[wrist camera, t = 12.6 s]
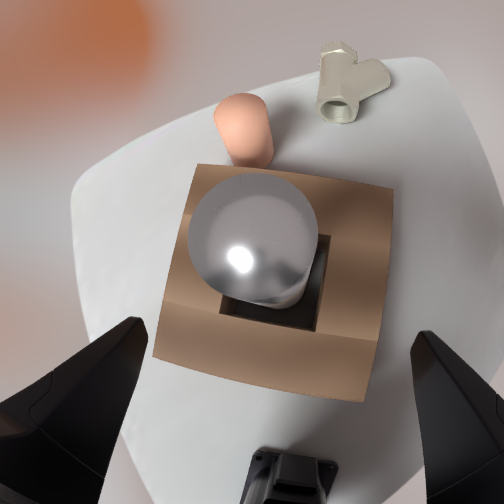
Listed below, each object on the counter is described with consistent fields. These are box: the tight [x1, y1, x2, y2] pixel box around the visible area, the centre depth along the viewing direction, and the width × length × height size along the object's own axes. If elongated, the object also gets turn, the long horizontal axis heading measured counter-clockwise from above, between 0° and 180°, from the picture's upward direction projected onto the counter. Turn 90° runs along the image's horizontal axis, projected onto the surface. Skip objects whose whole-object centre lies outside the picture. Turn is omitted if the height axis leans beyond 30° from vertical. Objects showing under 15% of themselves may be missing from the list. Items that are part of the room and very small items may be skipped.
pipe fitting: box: [315, 42, 391, 124], centre depth 21 cm, size 8×4×7 cm
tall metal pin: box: [188, 173, 318, 309], centre depth 14 cm, size 4×4×13 cm
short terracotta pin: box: [213, 93, 274, 169], centre depth 20 cm, size 4×4×6 cm
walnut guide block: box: [152, 164, 393, 402], centre depth 18 cm, size 13×13×4 cm
